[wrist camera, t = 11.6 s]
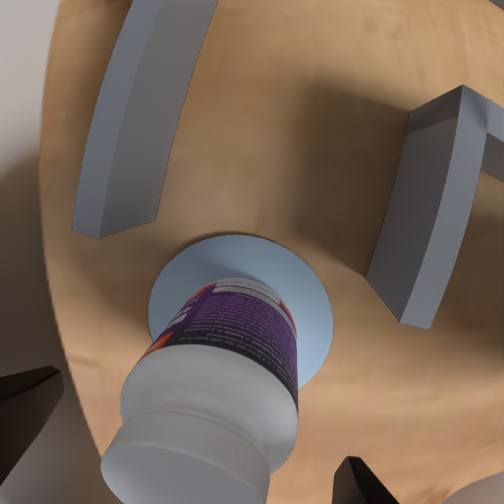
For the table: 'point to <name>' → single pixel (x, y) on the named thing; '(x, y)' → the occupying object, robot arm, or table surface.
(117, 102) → the channel
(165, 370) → the pill bottle
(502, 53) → the table surface
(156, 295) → the pad
